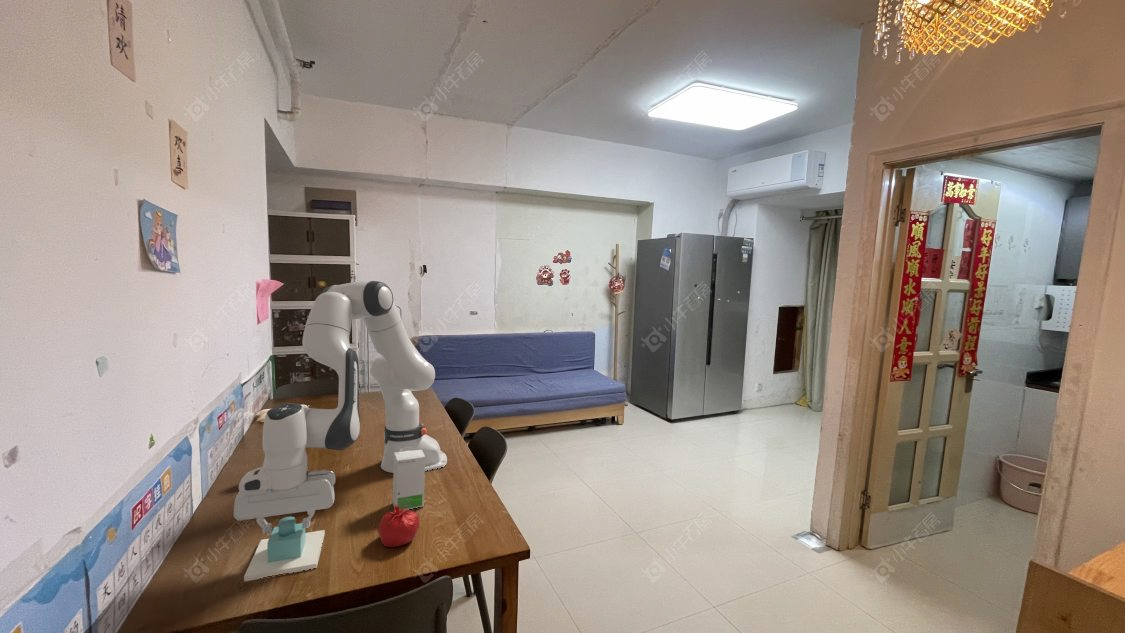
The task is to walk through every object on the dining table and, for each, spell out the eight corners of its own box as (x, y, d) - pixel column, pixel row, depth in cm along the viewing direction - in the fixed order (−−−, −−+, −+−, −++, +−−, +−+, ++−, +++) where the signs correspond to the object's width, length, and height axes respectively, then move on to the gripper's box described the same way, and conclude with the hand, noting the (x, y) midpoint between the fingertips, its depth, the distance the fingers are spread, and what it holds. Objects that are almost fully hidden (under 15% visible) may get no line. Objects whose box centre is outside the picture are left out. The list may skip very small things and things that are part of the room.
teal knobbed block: (305, 540, 110) (305, 511, 110) (300, 557, 104) (300, 525, 103) (274, 545, 108) (273, 515, 107) (267, 562, 102) (266, 530, 101)
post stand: (324, 534, 115) (324, 517, 115) (316, 568, 102) (316, 549, 102) (261, 544, 110) (260, 526, 110) (244, 581, 97) (243, 561, 97)
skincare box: (395, 513, 126) (395, 461, 125) (392, 502, 132) (392, 452, 131) (425, 507, 130) (425, 456, 129) (421, 496, 136) (421, 448, 135)
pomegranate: (418, 548, 111) (419, 513, 110) (375, 554, 108) (375, 518, 107) (419, 526, 121) (420, 494, 120) (380, 531, 118) (380, 498, 117)
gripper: (336, 463, 111) (337, 515, 112) (239, 473, 103) (240, 529, 105) (333, 474, 105) (334, 529, 106) (230, 485, 98) (232, 545, 99)
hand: (287, 529), depth 106 cm, fingers open, 7 cm apart
